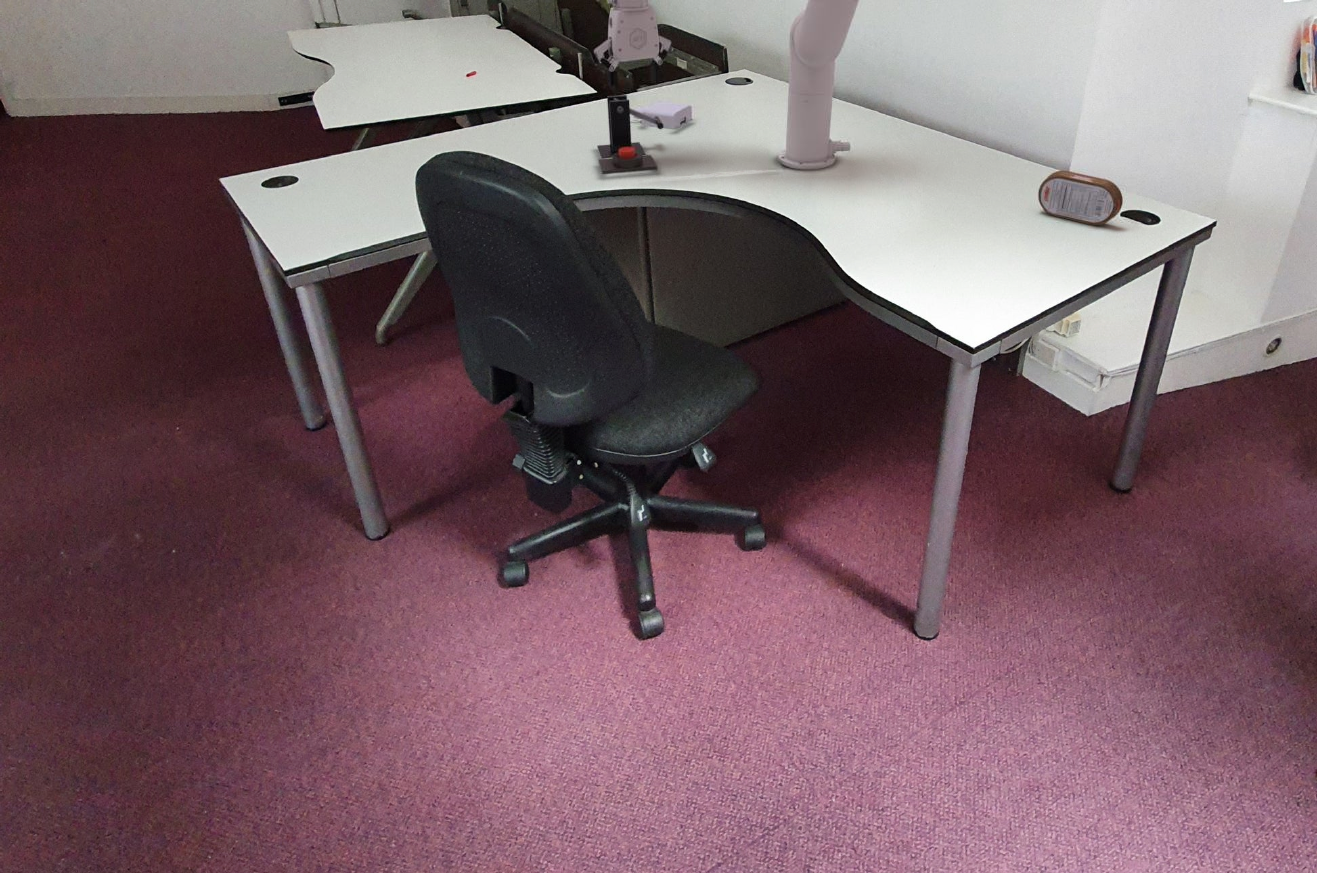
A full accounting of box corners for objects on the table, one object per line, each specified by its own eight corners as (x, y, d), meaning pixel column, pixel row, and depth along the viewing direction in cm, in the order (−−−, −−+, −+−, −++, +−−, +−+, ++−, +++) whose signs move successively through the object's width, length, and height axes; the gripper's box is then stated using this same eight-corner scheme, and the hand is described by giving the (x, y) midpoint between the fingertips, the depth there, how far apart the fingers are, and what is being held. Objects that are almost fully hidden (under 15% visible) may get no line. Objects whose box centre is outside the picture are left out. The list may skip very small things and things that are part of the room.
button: (634, 154, 208) (633, 146, 207) (636, 159, 205) (636, 151, 204) (618, 155, 208) (617, 147, 207) (620, 160, 205) (619, 152, 204)
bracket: (639, 147, 222) (637, 91, 215) (645, 159, 215) (643, 101, 207) (597, 150, 221) (593, 94, 214) (602, 162, 214) (598, 105, 206)
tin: (1117, 226, 175) (1128, 182, 170) (1110, 231, 173) (1122, 187, 168) (1038, 207, 184) (1047, 165, 179) (1032, 212, 182) (1040, 170, 177)
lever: (657, 125, 218) (661, 115, 217) (661, 132, 214) (665, 122, 213) (609, 105, 214) (613, 95, 213) (612, 112, 209) (616, 102, 208)
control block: (651, 162, 213) (650, 146, 211) (657, 173, 206) (656, 158, 204) (598, 166, 211) (597, 151, 209) (603, 178, 205) (602, 162, 203)
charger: (641, 116, 243) (692, 123, 236) (622, 126, 236) (674, 133, 230) (640, 97, 240) (691, 104, 234) (621, 106, 234) (673, 113, 227)
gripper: (599, 7, 187) (604, 95, 197) (677, -2, 193) (678, 84, 202) (585, 1, 192) (590, 87, 202) (661, -7, 198) (663, 77, 208)
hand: (634, 86), depth 202 cm, fingers open, 9 cm apart
